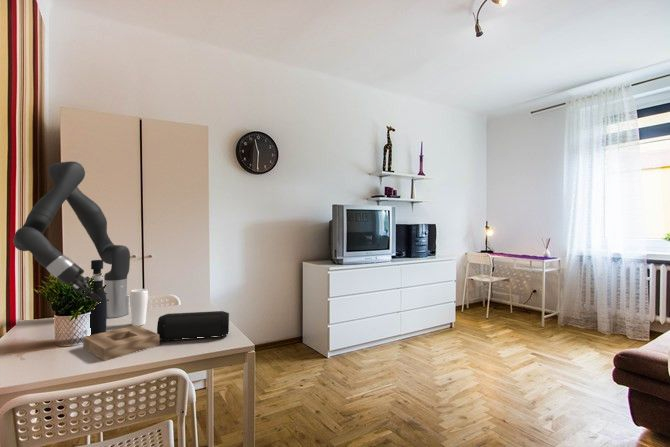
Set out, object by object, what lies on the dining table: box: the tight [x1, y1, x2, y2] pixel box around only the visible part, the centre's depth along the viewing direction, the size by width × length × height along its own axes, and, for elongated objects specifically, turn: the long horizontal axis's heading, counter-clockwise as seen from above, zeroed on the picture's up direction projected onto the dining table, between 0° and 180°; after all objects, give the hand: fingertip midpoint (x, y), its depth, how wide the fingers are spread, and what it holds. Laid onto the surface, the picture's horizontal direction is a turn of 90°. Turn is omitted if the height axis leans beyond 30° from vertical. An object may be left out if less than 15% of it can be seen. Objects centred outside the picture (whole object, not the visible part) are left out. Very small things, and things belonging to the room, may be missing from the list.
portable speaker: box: [156, 310, 230, 341], centre depth 139 cm, size 26×10×10 cm, turn 106°
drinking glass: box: [129, 288, 149, 326], centre depth 153 cm, size 7×7×15 cm
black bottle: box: [90, 259, 107, 335], centre depth 136 cm, size 6×6×30 cm
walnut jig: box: [82, 325, 160, 362], centre depth 128 cm, size 18×18×4 cm
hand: (101, 299), depth 136 cm, fingers closed on black bottle, 6 cm apart
